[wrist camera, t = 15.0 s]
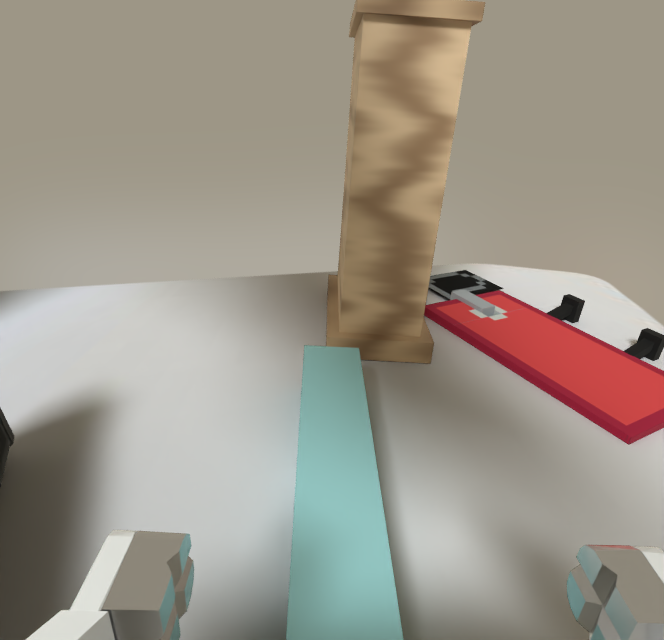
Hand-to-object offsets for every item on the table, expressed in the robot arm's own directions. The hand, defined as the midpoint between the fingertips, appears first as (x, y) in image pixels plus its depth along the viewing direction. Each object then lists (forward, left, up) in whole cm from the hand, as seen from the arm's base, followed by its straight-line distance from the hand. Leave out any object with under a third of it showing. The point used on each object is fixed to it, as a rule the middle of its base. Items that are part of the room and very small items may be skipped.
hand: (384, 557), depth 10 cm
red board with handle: (+19, +35, -12) cm, 42 cm away
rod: (0, +12, -12) cm, 17 cm away
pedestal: (+4, +35, -11) cm, 37 cm away
